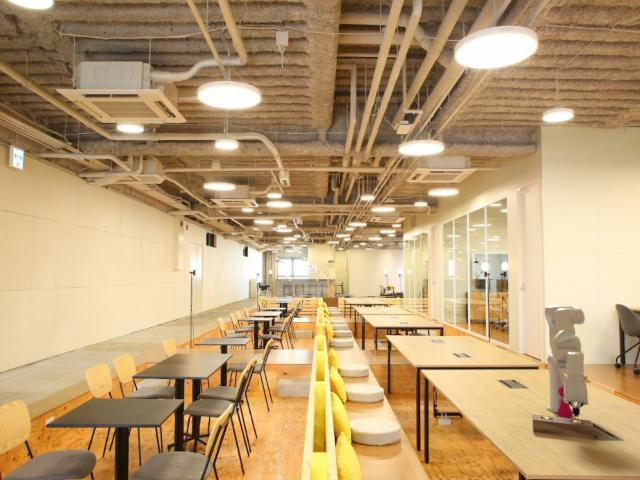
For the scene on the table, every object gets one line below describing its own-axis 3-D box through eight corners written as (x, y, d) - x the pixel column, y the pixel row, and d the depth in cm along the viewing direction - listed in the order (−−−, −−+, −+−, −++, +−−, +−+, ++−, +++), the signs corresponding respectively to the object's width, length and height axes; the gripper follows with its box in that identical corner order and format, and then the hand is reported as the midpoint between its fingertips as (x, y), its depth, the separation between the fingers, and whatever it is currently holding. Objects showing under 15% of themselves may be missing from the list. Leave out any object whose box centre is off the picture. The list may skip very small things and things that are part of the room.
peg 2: (571, 428, 233) (571, 419, 233) (581, 429, 231) (580, 420, 232) (572, 431, 229) (572, 421, 229) (582, 432, 228) (581, 422, 228)
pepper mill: (559, 419, 254) (558, 381, 255) (574, 422, 249) (573, 383, 251) (556, 422, 248) (554, 383, 250) (571, 425, 244) (570, 385, 245)
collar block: (532, 426, 242) (532, 414, 243) (590, 433, 232) (590, 420, 233) (533, 432, 233) (533, 419, 233) (593, 439, 223) (593, 426, 223)
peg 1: (542, 425, 238) (542, 416, 238) (551, 426, 236) (551, 417, 237) (543, 427, 234) (542, 418, 234) (552, 428, 233) (551, 419, 233)
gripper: (591, 377, 233) (592, 415, 232) (557, 374, 238) (558, 411, 238) (593, 381, 226) (594, 420, 225) (558, 378, 231) (559, 416, 231)
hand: (576, 415), depth 231 cm, fingers closed
